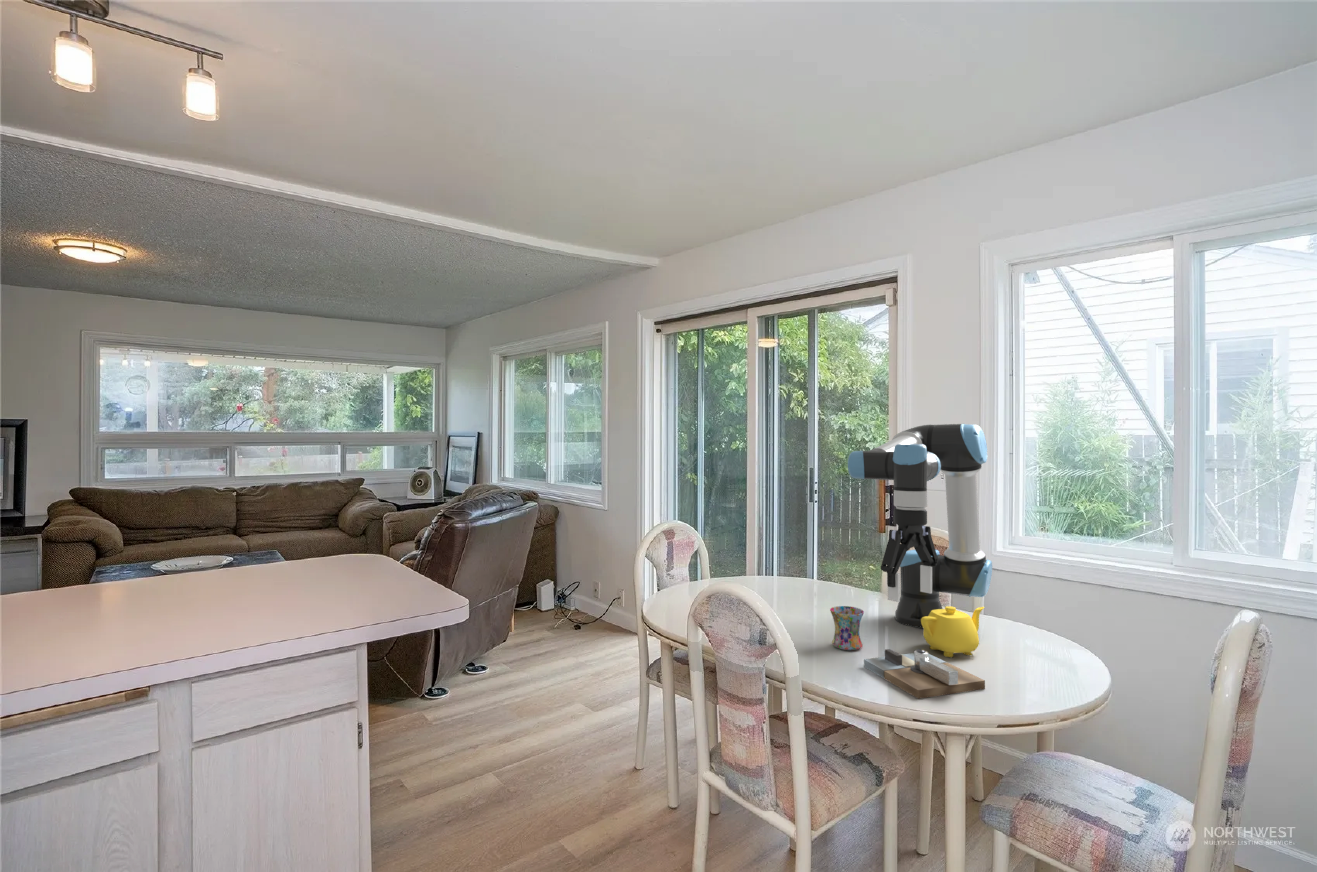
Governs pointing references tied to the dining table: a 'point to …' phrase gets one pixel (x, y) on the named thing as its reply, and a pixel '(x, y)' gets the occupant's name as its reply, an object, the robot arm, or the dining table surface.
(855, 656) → the dining table surface
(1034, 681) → the dining table surface
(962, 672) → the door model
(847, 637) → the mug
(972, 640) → the teapot
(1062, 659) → the dining table surface
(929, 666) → the latch bar
